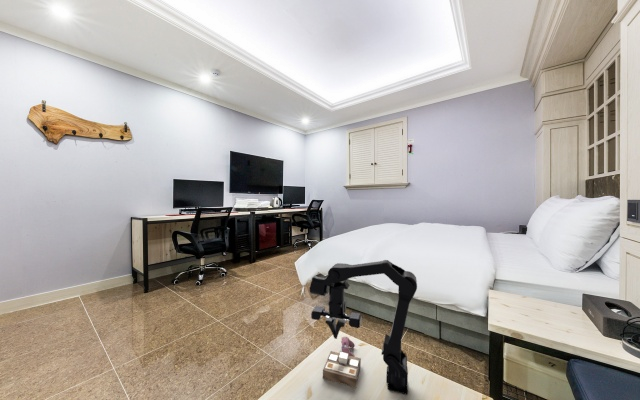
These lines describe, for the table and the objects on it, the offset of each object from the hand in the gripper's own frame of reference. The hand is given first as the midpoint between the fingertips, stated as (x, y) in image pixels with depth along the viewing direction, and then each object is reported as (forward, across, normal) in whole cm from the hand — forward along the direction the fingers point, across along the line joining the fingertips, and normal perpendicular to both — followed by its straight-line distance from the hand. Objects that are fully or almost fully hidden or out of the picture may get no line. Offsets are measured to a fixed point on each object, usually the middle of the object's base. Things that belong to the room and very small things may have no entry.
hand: (335, 338), depth 87 cm
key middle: (+8, -3, 0) cm, 9 cm away
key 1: (+10, +1, 0) cm, 10 cm away
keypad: (+11, -3, +2) cm, 12 cm away
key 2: (+10, -7, 0) cm, 12 cm away
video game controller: (+11, -3, -8) cm, 14 cm away
